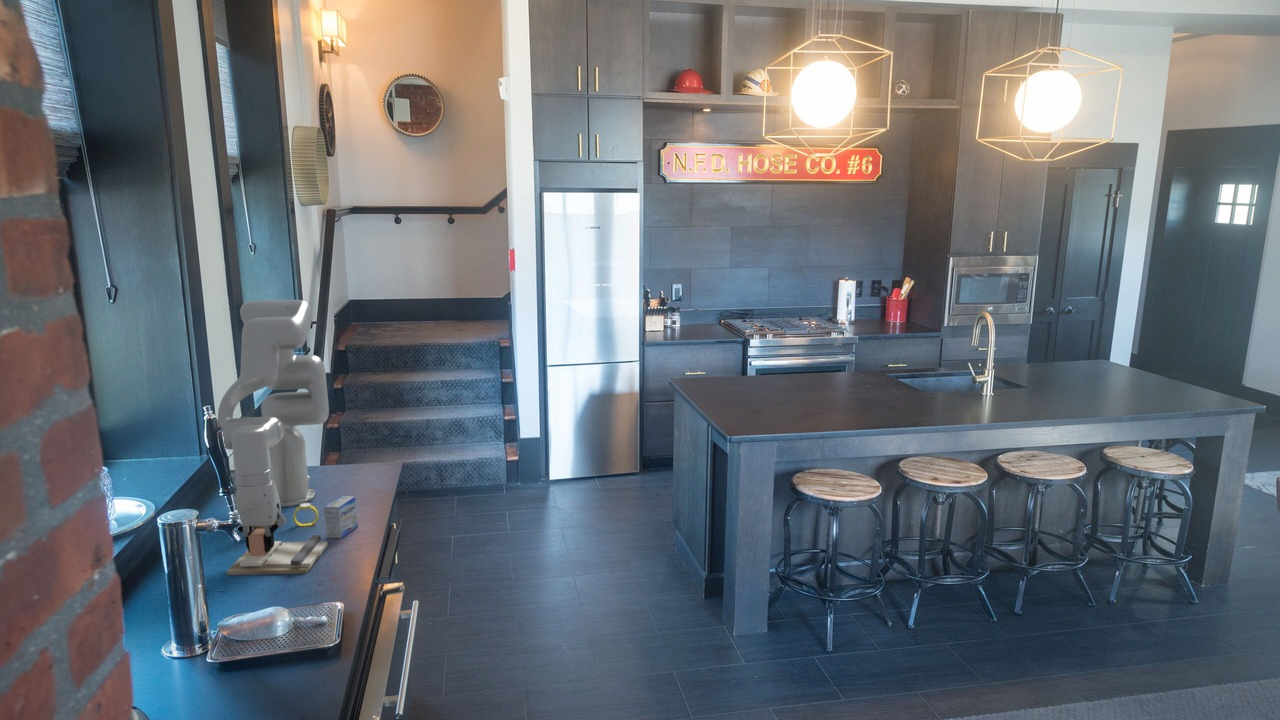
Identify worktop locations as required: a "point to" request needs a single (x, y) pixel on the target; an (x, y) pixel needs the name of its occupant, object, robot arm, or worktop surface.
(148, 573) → the worktop surface
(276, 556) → the board
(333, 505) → the medicine box
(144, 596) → the worktop surface
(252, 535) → the terracotta pink brick
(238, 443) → the robot arm
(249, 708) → the worktop surface
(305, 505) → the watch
